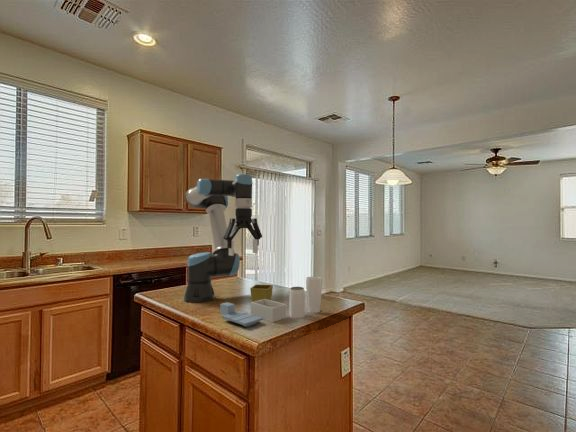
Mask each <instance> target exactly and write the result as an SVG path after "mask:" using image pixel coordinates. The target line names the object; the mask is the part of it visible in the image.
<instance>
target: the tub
mask: <svg viewBox="0 0 576 432" xmlns="http://www.w3.org/2000/svg"><path fill="white" fill-rule="evenodd" d="M250 314H252V315H255V316H259V317H262V318H263V320H262V321H267V322H270V323H275V322H278V321H280V320H284V319H286V318H287V303H282V302H278V301H275V300H272V299H270V300H267V299H262V300H258V301H254V302H253V301H251V302H250Z"/></svg>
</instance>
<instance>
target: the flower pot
mask: <svg viewBox="0 0 576 432" xmlns="http://www.w3.org/2000/svg"><path fill="white" fill-rule="evenodd" d="M273 286H274V285H272V284H257V283H256V284H254V285H253V286H252V287H250V290H249V291H250V297H251V302H254V301H258V300H262V299H267V300H272V296H273Z"/></svg>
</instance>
